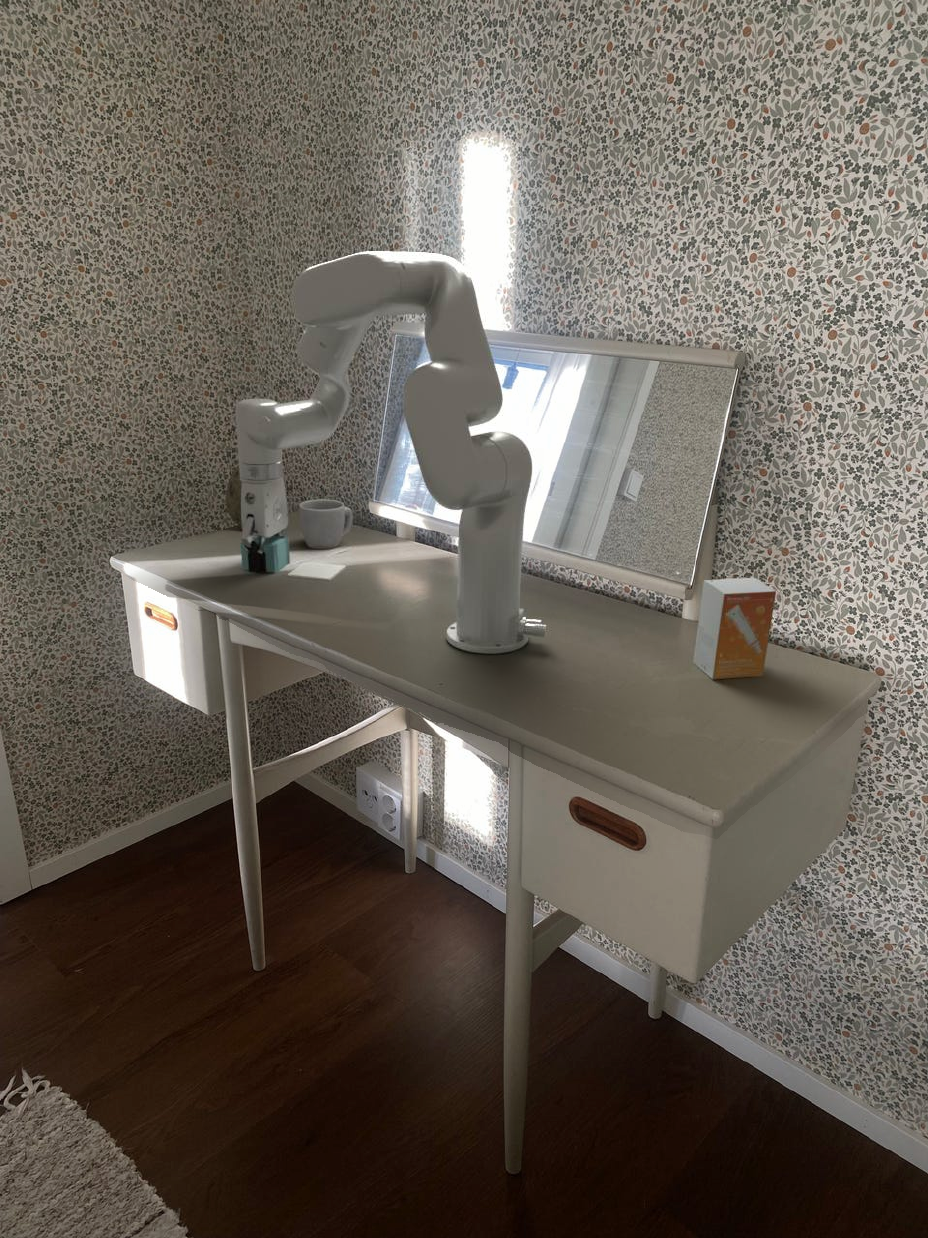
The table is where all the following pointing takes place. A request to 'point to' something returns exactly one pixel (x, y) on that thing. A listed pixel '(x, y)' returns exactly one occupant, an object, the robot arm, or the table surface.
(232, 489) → the decorative egg
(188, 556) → the table surface
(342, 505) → the mug
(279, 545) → the c link
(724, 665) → the small box
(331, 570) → the pad
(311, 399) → the robot arm
